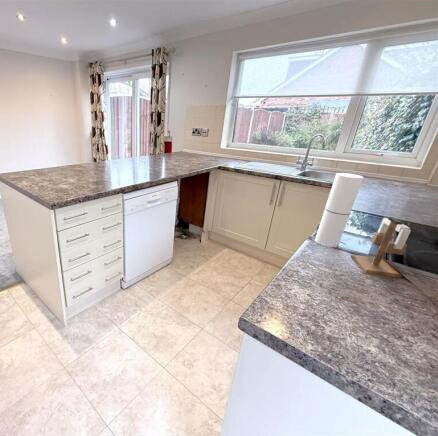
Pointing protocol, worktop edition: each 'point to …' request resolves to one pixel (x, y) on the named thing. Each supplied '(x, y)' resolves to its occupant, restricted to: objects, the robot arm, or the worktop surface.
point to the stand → (380, 255)
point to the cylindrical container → (338, 209)
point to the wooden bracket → (396, 246)
